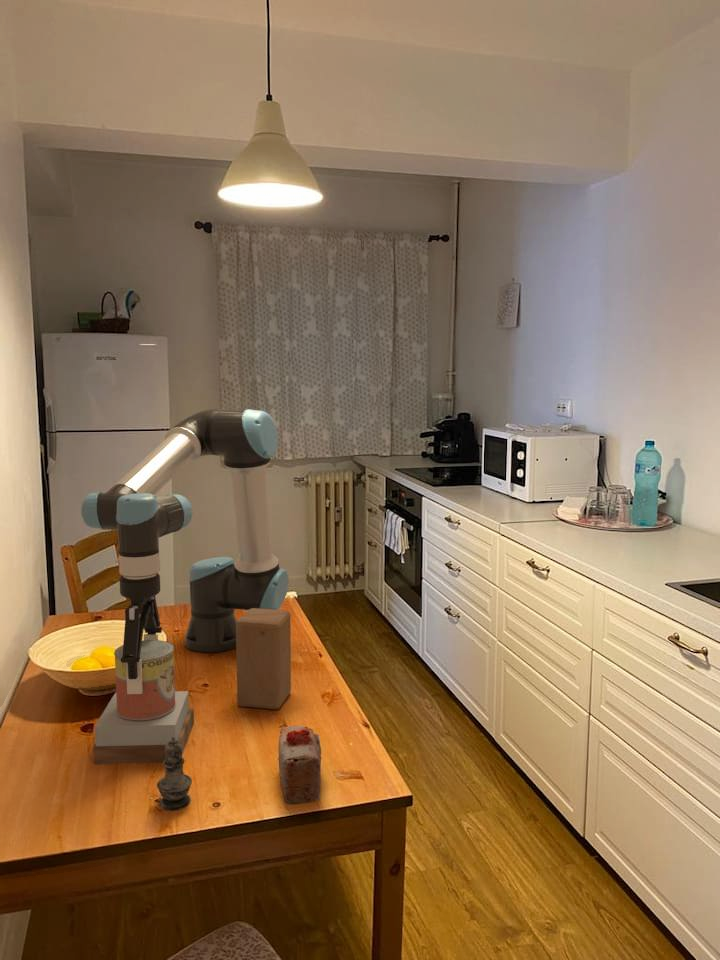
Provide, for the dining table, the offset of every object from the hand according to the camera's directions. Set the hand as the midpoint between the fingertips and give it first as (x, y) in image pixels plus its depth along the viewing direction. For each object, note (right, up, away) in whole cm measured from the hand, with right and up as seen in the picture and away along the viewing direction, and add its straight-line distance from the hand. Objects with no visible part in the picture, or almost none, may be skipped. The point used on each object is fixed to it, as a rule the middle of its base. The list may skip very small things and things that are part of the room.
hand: (143, 678), depth 148 cm
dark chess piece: (+11, -17, -18) cm, 27 cm away
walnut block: (0, -14, +2) cm, 14 cm away
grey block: (0, -10, +1) cm, 10 cm away
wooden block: (+21, -11, +22) cm, 32 cm away
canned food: (0, -6, 0) cm, 6 cm away
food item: (+32, -16, -12) cm, 38 cm away
